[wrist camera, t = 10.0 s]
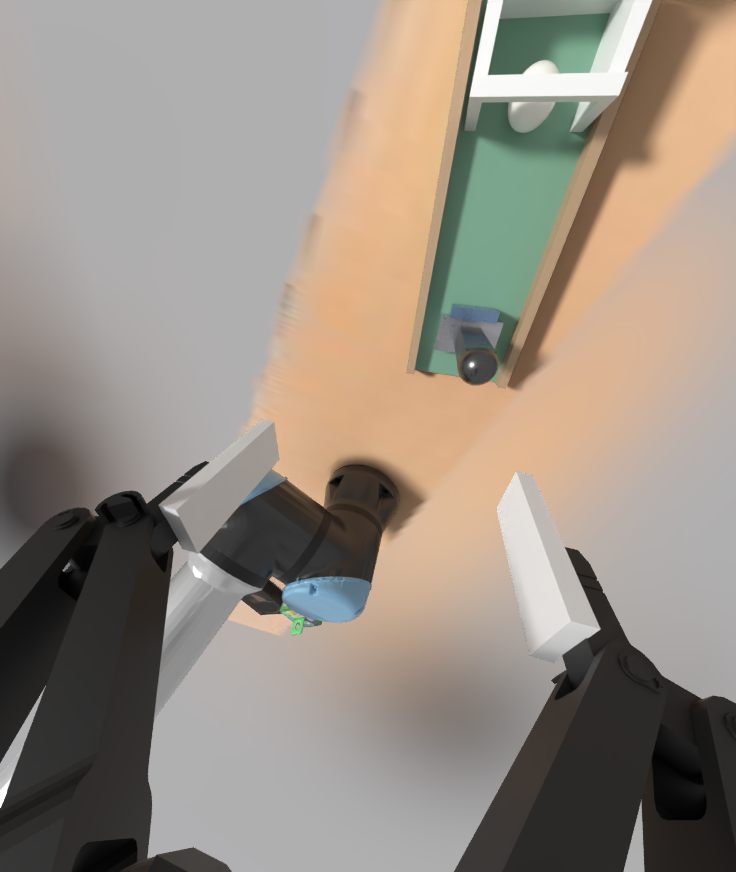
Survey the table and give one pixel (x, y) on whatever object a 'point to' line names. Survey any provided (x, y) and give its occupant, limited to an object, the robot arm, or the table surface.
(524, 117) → the ball
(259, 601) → the flat black box
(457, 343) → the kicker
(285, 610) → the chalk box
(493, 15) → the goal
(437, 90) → the table surface
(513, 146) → the pitch
